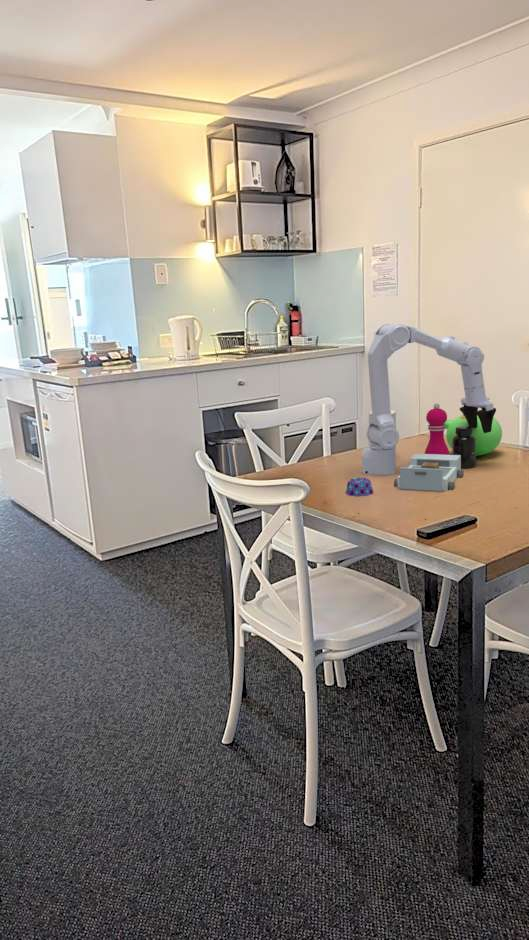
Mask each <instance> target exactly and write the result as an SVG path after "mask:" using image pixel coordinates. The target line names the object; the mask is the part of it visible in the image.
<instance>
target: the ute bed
mask: <svg viewBox="0 0 529 940" xmlns="http://www.w3.org/2000/svg"><path fill="white" fill-rule="evenodd" d="M424 462H433V463H439V469H443V488H442V490H443V492H447V491H453V490H454V489H455V488H456V483H455V481H456V479H462V478H463V477H464V474H465V473H464V470H462V468H461V455H452V454H449V455H440V454H425V453H414V454H413V455H411V457H410V458H409V466H408V467H407V468H421V465H422V464H423V463H424ZM399 487H400V474H399V475H398V476H397V477H396V478H394V482H393V488H397V489H399Z"/></svg>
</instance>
